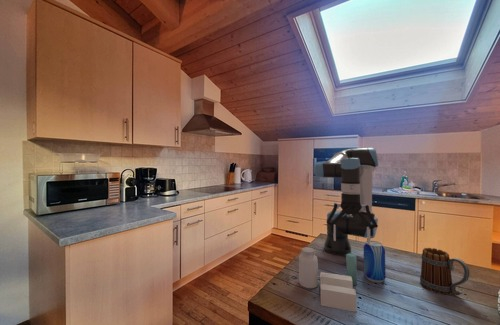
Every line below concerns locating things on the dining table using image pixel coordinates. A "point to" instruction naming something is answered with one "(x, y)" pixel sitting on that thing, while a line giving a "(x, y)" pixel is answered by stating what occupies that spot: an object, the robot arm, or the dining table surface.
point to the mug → (440, 271)
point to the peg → (351, 267)
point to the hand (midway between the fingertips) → (351, 241)
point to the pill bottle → (308, 268)
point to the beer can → (374, 261)
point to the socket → (338, 291)
